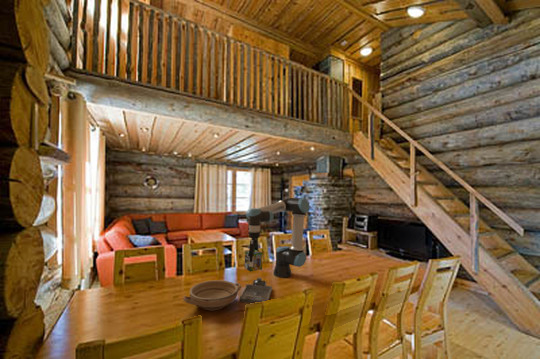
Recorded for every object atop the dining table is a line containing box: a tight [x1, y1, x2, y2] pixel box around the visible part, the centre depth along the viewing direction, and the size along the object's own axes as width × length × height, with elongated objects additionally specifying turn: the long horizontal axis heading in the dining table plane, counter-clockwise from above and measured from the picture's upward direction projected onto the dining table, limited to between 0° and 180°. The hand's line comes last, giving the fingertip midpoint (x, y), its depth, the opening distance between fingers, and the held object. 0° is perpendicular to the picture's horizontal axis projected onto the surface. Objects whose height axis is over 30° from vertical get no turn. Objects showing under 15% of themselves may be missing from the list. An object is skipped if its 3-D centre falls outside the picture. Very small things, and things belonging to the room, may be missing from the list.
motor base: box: [238, 277, 273, 304], centre depth 164 cm, size 23×18×8 cm
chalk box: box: [244, 250, 263, 273], centre depth 165 cm, size 9×9×15 cm
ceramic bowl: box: [182, 279, 242, 312], centre depth 148 cm, size 37×29×10 cm
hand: (253, 263), depth 165 cm, fingers closed on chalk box, 12 cm apart
